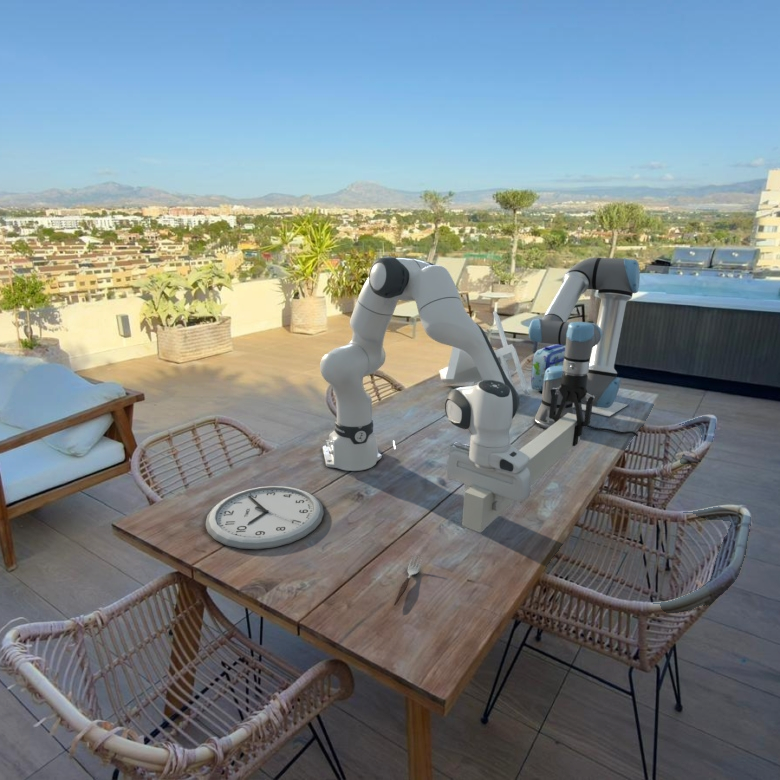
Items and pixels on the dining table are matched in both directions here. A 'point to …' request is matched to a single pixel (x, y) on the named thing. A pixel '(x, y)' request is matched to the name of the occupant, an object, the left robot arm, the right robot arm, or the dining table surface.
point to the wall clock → (264, 517)
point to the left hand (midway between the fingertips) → (484, 505)
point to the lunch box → (545, 363)
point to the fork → (412, 571)
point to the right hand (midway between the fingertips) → (566, 442)
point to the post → (541, 459)
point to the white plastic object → (466, 370)
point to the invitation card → (606, 409)
